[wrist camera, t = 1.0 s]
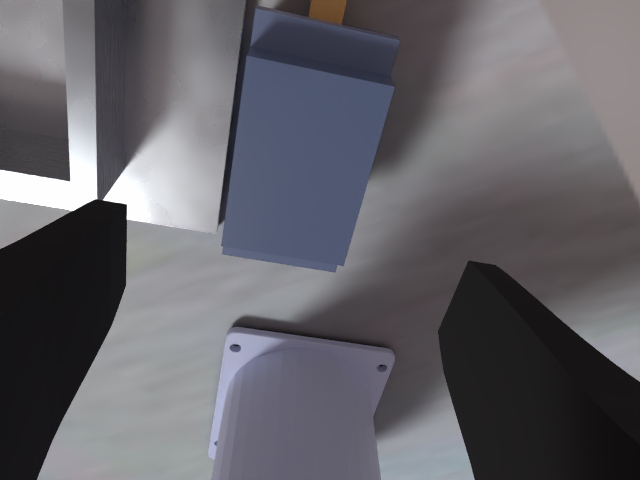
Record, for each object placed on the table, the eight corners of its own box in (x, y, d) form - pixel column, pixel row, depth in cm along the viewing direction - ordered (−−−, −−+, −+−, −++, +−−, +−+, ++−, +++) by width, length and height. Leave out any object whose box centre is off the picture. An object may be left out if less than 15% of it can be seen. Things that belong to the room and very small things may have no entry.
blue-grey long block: (331, 222, 22) (336, 289, 18) (234, 205, 21) (217, 271, 17) (389, -2, 17) (412, 24, 13) (267, -30, 17) (255, -12, 13)
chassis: (218, 226, 21) (204, 277, 18) (-72, 177, 20) (-138, 224, 17) (257, -85, 16) (246, -83, 13) (-146, -184, 14) (-264, -208, 11)
